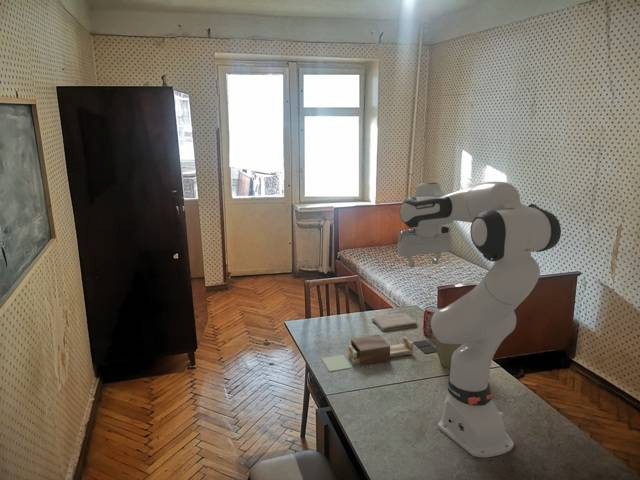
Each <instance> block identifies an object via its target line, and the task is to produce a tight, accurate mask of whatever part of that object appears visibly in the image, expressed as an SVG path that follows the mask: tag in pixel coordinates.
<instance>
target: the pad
mask: <svg viewBox="0 0 640 480" xmlns="http://www.w3.org/2000/svg"><path fill="white" fill-rule="evenodd" d="M321 361H322V362H323V364H324V365H325V367H326V368H327V370H328V371H329V372H330V373H332V372H337V371H342V370H347V369H349V370H350V369H352V368H353V366H352V364H351V363H350V362H349V361H348V359H347V358H346V357H345V355H344V354H339V355H333V356H332V355H331V356H327V357H322V358H321Z"/></svg>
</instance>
